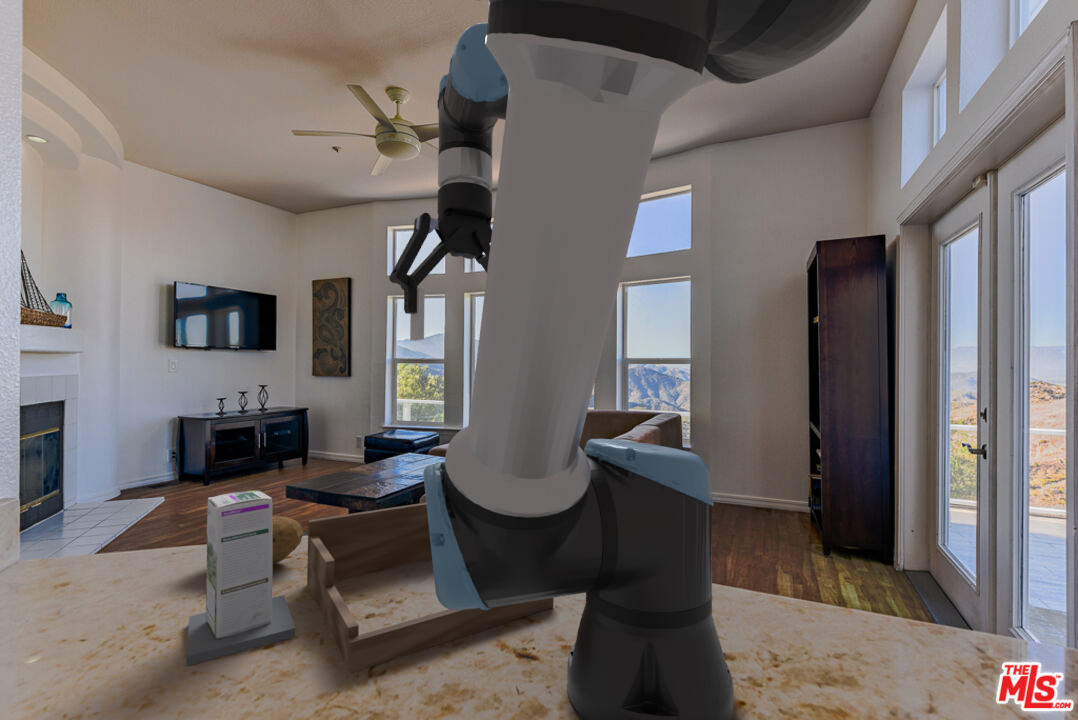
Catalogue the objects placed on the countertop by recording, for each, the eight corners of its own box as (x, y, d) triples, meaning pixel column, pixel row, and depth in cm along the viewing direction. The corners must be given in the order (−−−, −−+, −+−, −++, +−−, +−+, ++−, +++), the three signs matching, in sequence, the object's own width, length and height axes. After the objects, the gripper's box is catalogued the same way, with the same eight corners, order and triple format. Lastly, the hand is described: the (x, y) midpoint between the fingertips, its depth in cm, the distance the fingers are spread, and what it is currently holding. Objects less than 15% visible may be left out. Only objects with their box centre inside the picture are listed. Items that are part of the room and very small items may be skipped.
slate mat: (295, 636, 55) (295, 628, 55) (186, 666, 50) (186, 656, 50) (283, 602, 63) (283, 595, 63) (189, 624, 58) (189, 616, 58)
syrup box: (273, 622, 56) (276, 496, 57) (213, 641, 52) (216, 505, 53) (259, 605, 61) (262, 488, 61) (202, 622, 56) (206, 495, 57)
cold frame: (553, 607, 63) (553, 536, 63) (350, 673, 49) (351, 581, 49) (467, 549, 83) (467, 496, 84) (307, 584, 69) (308, 520, 69)
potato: (281, 580, 70) (283, 524, 71) (187, 578, 71) (189, 523, 71) (315, 556, 80) (316, 506, 80) (232, 554, 81) (233, 505, 81)
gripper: (523, 215, 78) (523, 347, 77) (366, 176, 63) (363, 339, 63) (552, 202, 72) (552, 344, 71) (385, 155, 57) (383, 335, 57)
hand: (464, 342), depth 67 cm, fingers open, 13 cm apart
